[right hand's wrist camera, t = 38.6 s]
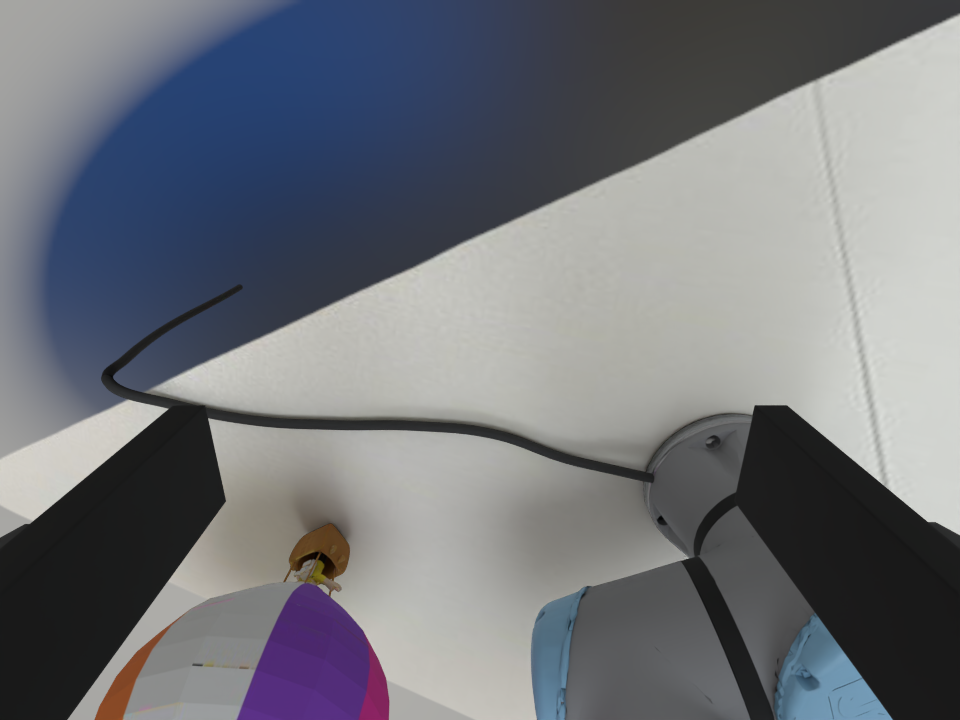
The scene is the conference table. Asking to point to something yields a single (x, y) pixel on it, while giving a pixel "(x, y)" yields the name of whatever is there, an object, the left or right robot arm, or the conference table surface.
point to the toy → (260, 654)
